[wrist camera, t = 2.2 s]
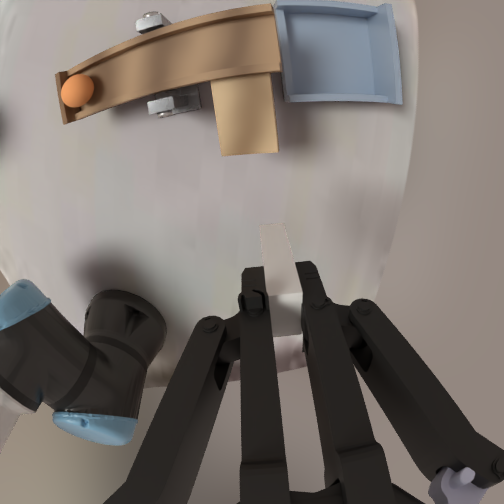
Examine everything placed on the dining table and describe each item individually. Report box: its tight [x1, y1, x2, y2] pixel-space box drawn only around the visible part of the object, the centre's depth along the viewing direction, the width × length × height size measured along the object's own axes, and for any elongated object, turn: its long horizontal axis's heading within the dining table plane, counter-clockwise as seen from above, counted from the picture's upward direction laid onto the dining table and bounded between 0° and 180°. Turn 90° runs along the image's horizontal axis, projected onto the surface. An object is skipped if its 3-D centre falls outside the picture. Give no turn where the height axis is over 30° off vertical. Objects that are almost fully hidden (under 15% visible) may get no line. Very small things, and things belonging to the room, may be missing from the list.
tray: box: [273, 0, 402, 105], centre depth 23 cm, size 12×12×6 cm
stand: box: [136, 12, 201, 118], centre depth 23 cm, size 5×11×8 cm, turn 7°
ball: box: [61, 74, 94, 108], centre depth 20 cm, size 4×4×4 cm
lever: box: [55, 3, 283, 156], centre depth 21 cm, size 22×13×3 cm, turn 97°
